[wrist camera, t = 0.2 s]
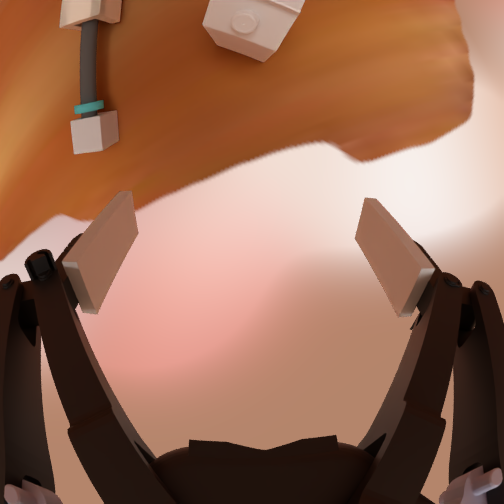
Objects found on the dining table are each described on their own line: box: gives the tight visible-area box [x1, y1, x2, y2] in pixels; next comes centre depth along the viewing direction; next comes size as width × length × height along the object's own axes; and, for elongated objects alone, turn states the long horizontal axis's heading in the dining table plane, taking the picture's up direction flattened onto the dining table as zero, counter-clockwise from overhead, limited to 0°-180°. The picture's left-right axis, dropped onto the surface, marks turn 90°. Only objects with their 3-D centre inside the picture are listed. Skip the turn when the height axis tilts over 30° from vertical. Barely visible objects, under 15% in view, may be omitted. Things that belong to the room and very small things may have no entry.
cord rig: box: [71, 19, 119, 154], centre depth 26 cm, size 30×5×7 cm, turn 177°
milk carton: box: [202, 0, 305, 62], centre depth 22 cm, size 7×7×19 cm
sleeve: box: [59, 0, 122, 31], centre depth 22 cm, size 5×6×7 cm
